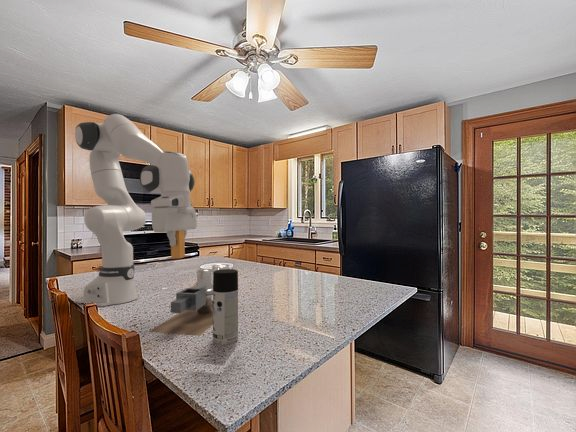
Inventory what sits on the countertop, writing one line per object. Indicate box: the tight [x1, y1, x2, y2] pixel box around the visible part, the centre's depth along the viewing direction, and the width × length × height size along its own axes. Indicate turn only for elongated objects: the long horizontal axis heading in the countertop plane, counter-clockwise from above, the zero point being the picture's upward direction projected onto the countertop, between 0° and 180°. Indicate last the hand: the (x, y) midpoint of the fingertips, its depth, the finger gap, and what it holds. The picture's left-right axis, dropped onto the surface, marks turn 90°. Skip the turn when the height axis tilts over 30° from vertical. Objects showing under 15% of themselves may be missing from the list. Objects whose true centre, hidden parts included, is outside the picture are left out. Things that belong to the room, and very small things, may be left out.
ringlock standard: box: [170, 268, 213, 314], centre depth 97 cm, size 11×24×14 cm, turn 170°
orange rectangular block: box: [170, 230, 186, 259], centre depth 96 cm, size 3×3×11 cm
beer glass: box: [211, 263, 230, 285], centre depth 117 cm, size 7×7×15 cm
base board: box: [148, 304, 213, 337], centre depth 97 cm, size 16×26×2 cm, turn 170°
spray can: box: [212, 268, 239, 346], centre depth 80 cm, size 7×7×20 cm
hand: (177, 244), depth 96 cm, fingers closed on orange rectangular block, 3 cm apart
